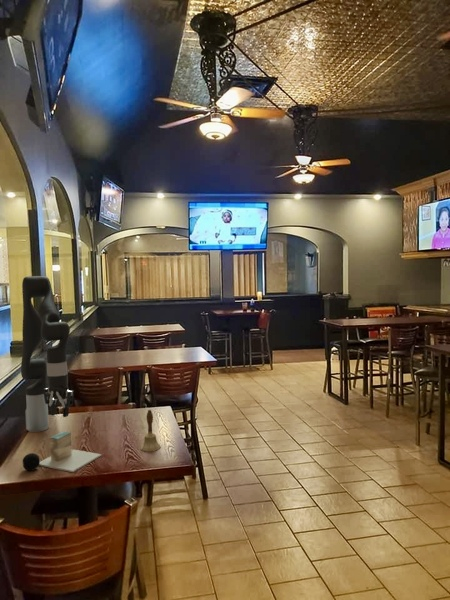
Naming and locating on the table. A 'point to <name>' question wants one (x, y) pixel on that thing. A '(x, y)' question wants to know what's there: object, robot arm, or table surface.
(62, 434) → the block
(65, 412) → the robot arm
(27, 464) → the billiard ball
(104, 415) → the table surface
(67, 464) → the mat
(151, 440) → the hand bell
